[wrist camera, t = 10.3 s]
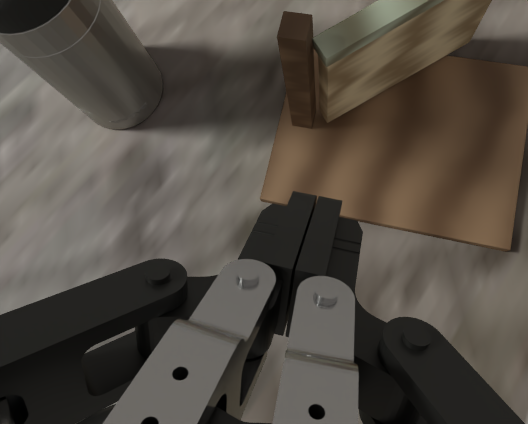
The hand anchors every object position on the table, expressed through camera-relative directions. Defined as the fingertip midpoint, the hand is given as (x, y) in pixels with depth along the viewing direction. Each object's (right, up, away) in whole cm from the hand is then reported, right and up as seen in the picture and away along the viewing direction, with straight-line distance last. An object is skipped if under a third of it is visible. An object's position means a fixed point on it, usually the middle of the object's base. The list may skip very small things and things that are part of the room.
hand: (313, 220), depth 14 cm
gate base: (+11, +8, +31) cm, 34 cm away
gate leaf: (+11, +14, +31) cm, 36 cm away
